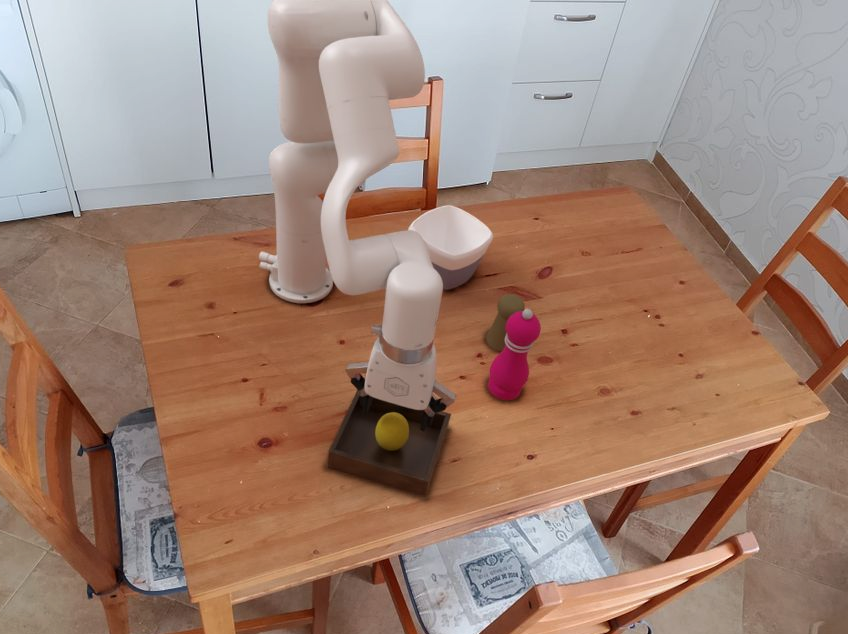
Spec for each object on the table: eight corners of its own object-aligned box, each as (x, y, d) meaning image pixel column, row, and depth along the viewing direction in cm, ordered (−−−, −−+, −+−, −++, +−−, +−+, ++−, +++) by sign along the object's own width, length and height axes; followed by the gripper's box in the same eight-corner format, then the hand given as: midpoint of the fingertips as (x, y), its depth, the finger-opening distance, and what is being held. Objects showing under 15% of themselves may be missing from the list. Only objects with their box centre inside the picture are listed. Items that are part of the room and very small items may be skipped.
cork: (513, 355, 143) (526, 314, 135) (483, 347, 143) (494, 306, 135) (518, 334, 147) (530, 294, 139) (489, 326, 147) (499, 286, 139)
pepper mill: (497, 407, 133) (521, 329, 118) (478, 378, 137) (499, 300, 123) (530, 396, 136) (557, 320, 121) (510, 369, 140) (535, 292, 126)
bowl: (493, 274, 159) (503, 234, 151) (446, 305, 150) (454, 263, 142) (441, 239, 165) (449, 198, 157) (393, 266, 156) (398, 224, 148)
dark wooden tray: (327, 467, 118) (328, 451, 115) (357, 402, 129) (358, 386, 126) (425, 496, 117) (428, 482, 114) (447, 429, 128) (451, 413, 124)
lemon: (411, 440, 124) (416, 410, 119) (398, 464, 121) (403, 435, 115) (381, 428, 125) (385, 398, 119) (368, 452, 121) (371, 423, 116)
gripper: (340, 341, 102) (336, 418, 114) (458, 375, 101) (441, 449, 113) (358, 308, 108) (352, 384, 120) (470, 340, 106) (453, 414, 118)
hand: (395, 416), depth 116 cm, fingers open, 9 cm apart
